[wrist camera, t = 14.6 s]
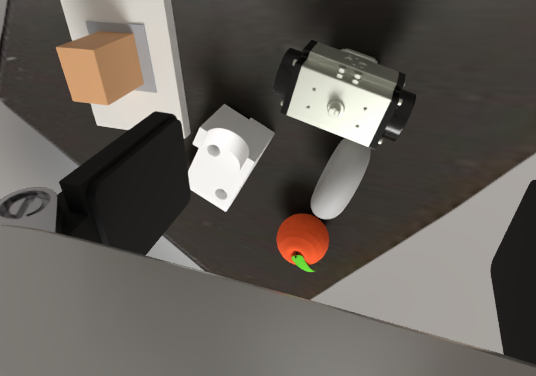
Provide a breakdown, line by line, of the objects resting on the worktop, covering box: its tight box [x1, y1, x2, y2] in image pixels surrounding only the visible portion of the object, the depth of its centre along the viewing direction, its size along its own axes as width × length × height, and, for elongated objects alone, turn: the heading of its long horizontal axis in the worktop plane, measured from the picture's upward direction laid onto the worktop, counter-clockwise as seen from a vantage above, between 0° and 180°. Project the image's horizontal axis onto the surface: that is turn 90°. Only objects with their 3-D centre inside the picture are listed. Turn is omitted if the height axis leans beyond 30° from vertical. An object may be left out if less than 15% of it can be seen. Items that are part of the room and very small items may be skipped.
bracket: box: [188, 104, 275, 212], centre depth 50 cm, size 13×7×8 cm, turn 153°
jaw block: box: [56, 31, 144, 105], centre depth 45 cm, size 6×5×7 cm
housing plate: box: [60, 0, 191, 138], centre depth 47 cm, size 20×14×5 cm
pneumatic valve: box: [273, 40, 416, 150], centre depth 36 cm, size 6×12×12 cm, turn 76°
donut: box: [311, 138, 370, 219], centre depth 43 cm, size 10×4×10 cm, turn 159°
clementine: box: [277, 213, 329, 272], centre depth 53 cm, size 8×7×7 cm
